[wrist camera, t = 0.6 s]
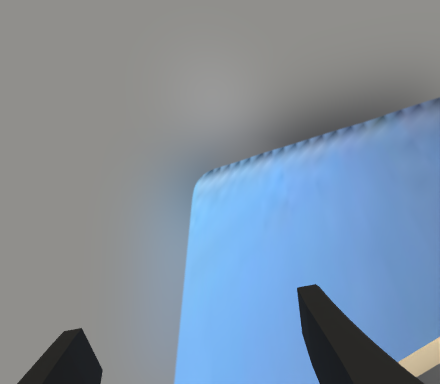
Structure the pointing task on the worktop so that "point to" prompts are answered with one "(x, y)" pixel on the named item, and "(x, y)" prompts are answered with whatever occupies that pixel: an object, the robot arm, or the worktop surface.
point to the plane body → (423, 358)
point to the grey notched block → (431, 375)
